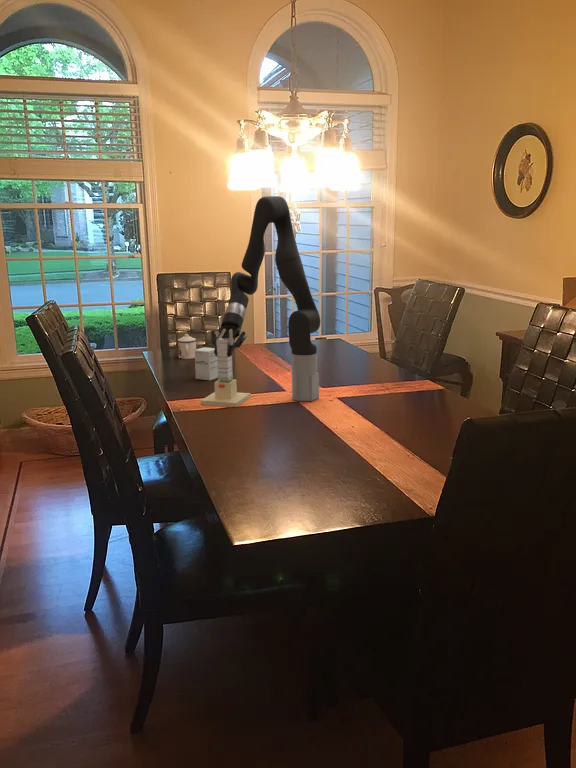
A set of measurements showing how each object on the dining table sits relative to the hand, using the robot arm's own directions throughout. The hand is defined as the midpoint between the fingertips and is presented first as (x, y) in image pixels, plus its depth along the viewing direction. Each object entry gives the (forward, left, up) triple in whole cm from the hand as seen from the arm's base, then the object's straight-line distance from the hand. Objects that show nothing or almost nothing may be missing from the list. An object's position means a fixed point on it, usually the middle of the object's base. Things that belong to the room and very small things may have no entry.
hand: (222, 355), depth 235 cm
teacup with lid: (+60, -60, -18) cm, 87 cm away
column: (0, -2, -9) cm, 9 cm away
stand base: (0, -2, -18) cm, 18 cm away
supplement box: (+27, -29, -18) cm, 44 cm away
